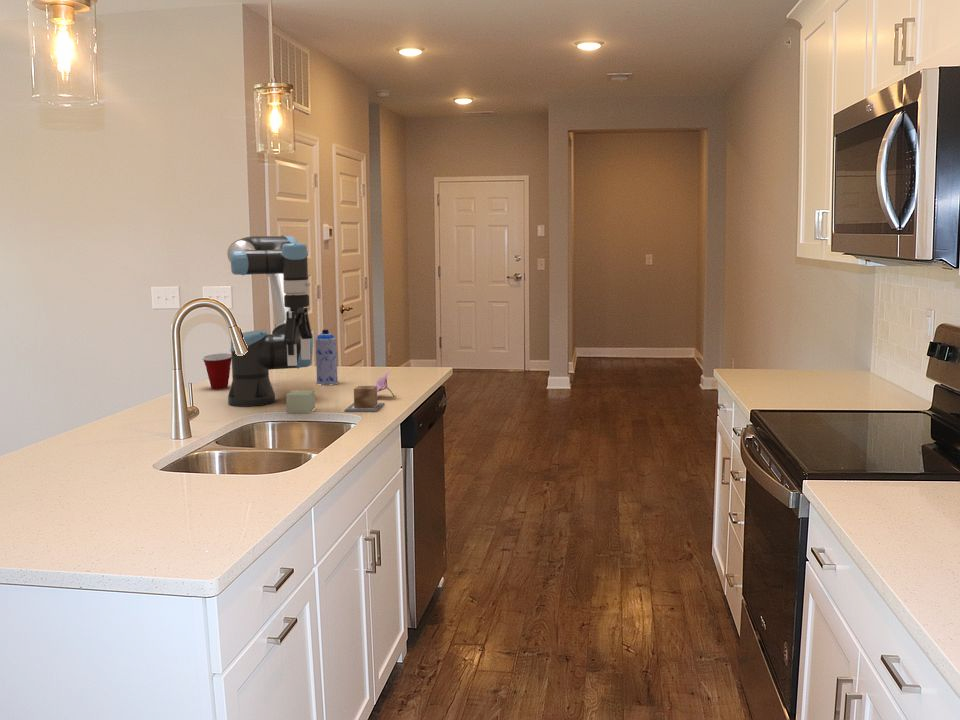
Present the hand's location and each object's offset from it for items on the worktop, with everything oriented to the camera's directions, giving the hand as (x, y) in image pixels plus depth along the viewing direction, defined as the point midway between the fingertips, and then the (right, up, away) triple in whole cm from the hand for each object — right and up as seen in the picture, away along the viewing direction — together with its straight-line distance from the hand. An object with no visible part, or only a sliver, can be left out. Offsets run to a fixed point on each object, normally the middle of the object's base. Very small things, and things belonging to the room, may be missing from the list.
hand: (299, 362), depth 275 cm
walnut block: (+20, -14, +5) cm, 25 cm away
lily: (+23, -12, +24) cm, 35 cm away
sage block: (0, -15, +2) cm, 16 cm away
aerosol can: (0, -8, +53) cm, 53 cm away
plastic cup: (-38, -10, +46) cm, 61 cm away
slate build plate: (+20, -14, +6) cm, 25 cm away
